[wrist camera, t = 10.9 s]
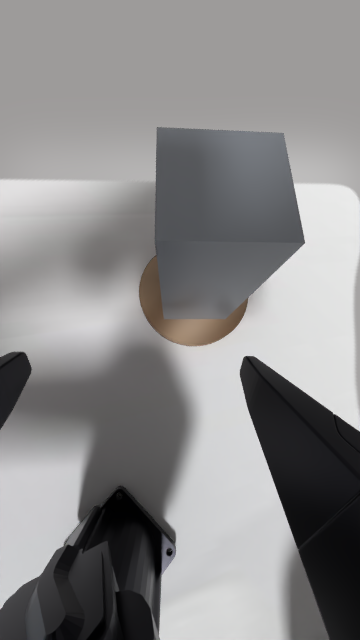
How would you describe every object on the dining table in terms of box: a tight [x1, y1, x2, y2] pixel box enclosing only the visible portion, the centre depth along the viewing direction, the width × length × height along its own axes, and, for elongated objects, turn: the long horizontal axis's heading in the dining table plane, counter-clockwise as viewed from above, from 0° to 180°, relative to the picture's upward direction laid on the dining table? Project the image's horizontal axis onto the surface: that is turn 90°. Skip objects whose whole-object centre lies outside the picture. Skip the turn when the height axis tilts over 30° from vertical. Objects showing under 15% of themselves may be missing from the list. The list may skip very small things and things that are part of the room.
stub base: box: [139, 255, 248, 346], centre depth 19 cm, size 11×11×5 cm
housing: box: [155, 127, 305, 319], centre depth 14 cm, size 6×6×12 cm
